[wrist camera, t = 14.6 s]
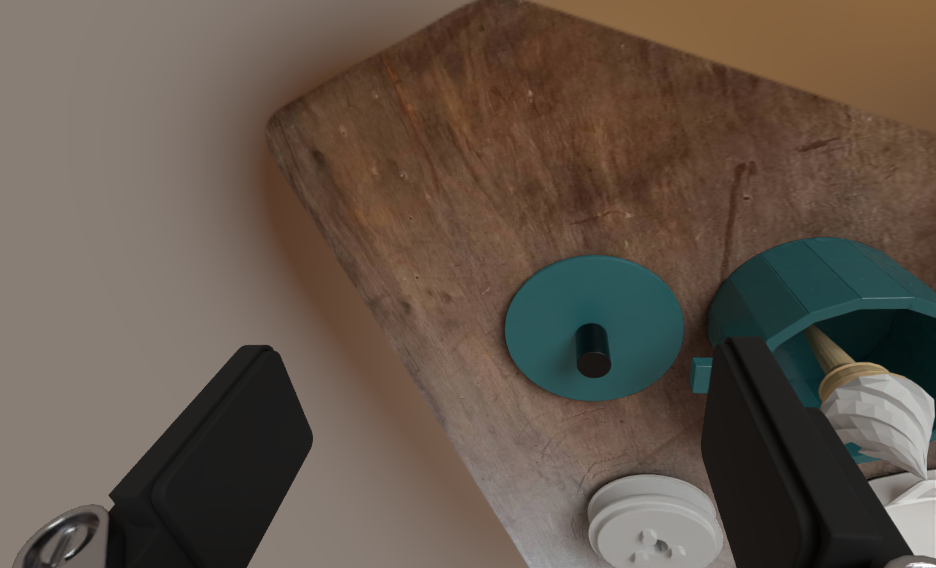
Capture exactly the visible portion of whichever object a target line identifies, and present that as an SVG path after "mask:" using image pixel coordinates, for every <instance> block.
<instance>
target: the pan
mask: <svg viewBox="0 0 936 568" xmlns="http://www.w3.org/2000/svg"><path fill="white" fill-rule="evenodd" d="M868 483H869V484H870V486H871V487H872V489H873V491H874V492H875V494H876V495H877V497H878V498H879V500H880V502H881V503H882V505H883V506H884V508H885V509H886V511H887V513H888V514H889V516H890V517H891V519H892V520H893V522H894V524H895V525H896V527H897V528H898V530H899V531H900V533H901V535H902V536H903V538H904V539H905V541H906V542H907V544H908V546H909V547H910V549H911V550H912V552H913V553H914V555H924V556H928V557H932V558H936V469H929V470H927V481H925V480H923V479H921V478H920V477H918V476H916V475H914V474H912V473H910V472H902V473H897V474H893V475H888V476H883V477H878V478H874V479H871V480H868Z"/></svg>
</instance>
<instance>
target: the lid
mask: <svg viewBox="0 0 936 568" xmlns="http://www.w3.org/2000/svg"><path fill="white" fill-rule="evenodd" d="M588 520H589V523H590V525H589V540H590V543H591V546H592V548H593V549H594V551H595V552H596V553H597V554H598V555H599V556H600V557H601V558H602V559H603V560H604V561H606V562H607V563H609V564H611V565H612V566H614V567H615V568H704V567H706V566H707V565H708V564H709V563H711V562H712V561H713V560H714V559H715V558H716V557H717V556H718V554H719V553H720V551H721V548H722V546H723V534H722V531H721V528H720V526H719V524H718V522H717V521H716V511H715V508H714V505H713V503H712V502H711V500H710V499H709V498H708V496H707V495H706V494H705V493H704V492H702V491H701V490H700V489H698V488H697V487H695V486H693V485H692V484H690V483H688V482H685V481H683V480H680V479H676V478H673V477H668V476H663V475H634V476H629V477H624V478H621V479H617V480H615V481H613V482H610V483H608V484H607V485H605V486H603V487H602V488H601V489H599V490H598V491H597V492H596V493H595V494H594V495H593V497H592V498H591V500H590V502H589V505H588Z"/></svg>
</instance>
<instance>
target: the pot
mask: <svg viewBox="0 0 936 568" xmlns="http://www.w3.org/2000/svg"><path fill="white" fill-rule="evenodd" d="M812 324H814V325H815V326H816V327H817V328H818V329H819V330H820V331H821V332H823V333H824V334H825V335H826V336H827V337H829V338H830V339H831V340H832V341H833V342H834V343H835V344H836V345H837V346H839V347H840V348H841V349H842V350H843V351H844V352H845V353H846V354H847V355H848V356H849V357H851V358H852V359H853V360H854V361H855V362H856V363H857V362H867V363H873V364H877V365H880V366H882V367H883V368H885V369H886V370H888V371H889V372H890V373H894V374H897V375H901V376H904V377H906V378H907V379H909V380H911V381H913V382H914V383H915V384H917V385H918V386H920V387H921V388H922V389H923V390H924V391H925V392H926V393H927V394H929V395H930V396H931V397H932V398H933V399H934V410H935V418H934V422H933V427H932V434H931V437H930V441H929V443H930V442H932V441H934V440H936V292H935V291H933V290H932V289H931V288H929V287H928V286H927V285H925V284H924V283H923V282H921V281H920V280H919V279H918V278H916V277H915V276H914V275H912V274H911V273H910V272H908V271H907V270H906V269H904V268H903V267H902V266H901V265H899V264H898V263H897V262H895V261H894V260H893V259H891V258H890V257H889V256H887V255H886V254H885V253H883V252H882V251H880V250H876V249H874V248H872V247H870V246H868V245H865V244H863V243H860V242H857V241H853V240H849V239H842V238H834V237H818V238H807V239H802V240H796V241H792V242H788V243H785V244H782V245H778V246H776V247H773V248H771V249H769V250H766V251H764V252H762V253H760V254H759V255H757V256H755V257H753V258H752V259H750V260H749V261H747V262H746V263H744V264H743V265H741V266H740V267H739V268H738V269H737V270H735V271H734V272H733V273H732V274H731V275H730V276H729V277H728V278H727V279H726V280H725V282H724V283H723V284H722V286H721V287H720V288H719V290H718V291H717V293H716V295H715V297H714V298H713V301H712V303H711V306H710V308H709V313H708V318H707V331H708V333H707V335H708V338H709V341H710V344H711V346H712V348H713V351H714V347H715V345H717V344H724V342H725V339H726V338H727V337H738V336H760V337H762V338H763V339H764V341H765V342H766V344H767V346H768V347H769V349H770V351H771V352H772V354H773V356H774V357H775V359H776V361H777V362H778V364H779V366H780V367H781V369H782V371H783V373H784V374H785V376H786V378H787V379H788V381H789V383H790V384H791V386H792V388H793V389H794V391H795V393H796V394H797V396H798V398H799V399H800V401H801V403H802V404H803V406H804V407H816V408H818V409H819V410H820V408H821V404H822V400H821V399H820V396H819V388H820V384H821V382H822V381H823V380H824V378H825V377H826V375H825V373H824V371H823V369H822V368H821V366H820V364H819V362H818V360H817V358H816V356H815V354H814V352H813V350H812V348H811V347H810V345H809V342H808V340H807V338H806V336H805V334H804V333H803V331H802V330H804V329H806V328H807V327H809V326H810V325H812ZM712 359H713V357H693V359H692V367H691V374H690V382H689V384H690V387H691V390H692V393H708V388H709V381H710V374H711V367H712ZM845 447H846V448H847V450H848V451H849V453H850V454H851V456H852V458H853V459H854V461H855V462H856V464H861V463H866V462H872V461H877V460H882V459H881V458H873V457H870V456H867V455H864V454H862V453H859V452H858V451H859V450H861V449H862V447H860V446H858V445H857V444H855V443H853V442H849V443H847V444H845Z"/></svg>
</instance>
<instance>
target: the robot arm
mask: <svg viewBox="0 0 936 568" xmlns="http://www.w3.org/2000/svg"><path fill="white" fill-rule="evenodd" d="M312 442H313V435H312V431H311V429H310V426H309V424H308V422H307V419H306V417H305V415H304V412H303V409H302V407H301V405H300V402H299V400H298V397H297V395H296V392H295V390H294V388H293V385H292V383H291V381H290V378H289V376H288V373H287V371H286V368H285V366H284V363H283V361H282V359H281V356H280V354H279V353H278V352H276V351H274V350H273V348H272V347H271V346H269V345H245V346H242V347H241V348H239V349H238V351H237V352H236V353H235V354H234V355H233V356H232V357H231V358H230V359H229V361H228V362H227V363H226V364H225V365H224V366H223V367H222V368H221V370H220V371H219V372H218V373H217V374H216V375H215V376H214V377H213V378H212V380H211V381H210V382H209V383H208V384H207V385H206V386H205V387H204V389H203V390H202V391H201V392H200V393H199V394H198V395H197V397H196V398H195V399H194V400H193V401H192V402H191V403H190V404H189V405H188V406H187V408H186V409H185V410H184V411H183V412H182V413H181V415H179V417H178V418H177V419H176V420H175V421H174V422H173V423H172V424H171V426H170V427H169V428H168V429H167V430H166V431H165V432H164V433H163V435H162V436H161V437H160V438H159V439H158V440H157V441H156V443H154V445H153V446H152V447H151V448H150V449H149V450H148V451H147V453H146V454H145V455H144V456H143V457H142V458H141V459H140V460H139V461H138V463H137V464H136V465H135V466H134V467H133V468H132V469H131V470H130V472H129V473H128V474H127V475H126V476H125V477H124V478H123V479H122V481H121V482H120V483H119V484H118V485H117V486H116V487H115V488H114V489H113V491H112V492H111V493H110V494H109V497H110V498H111V499H112V500H113V502H114V503H115V505H114V506H113V507H112V509H111V510H110V511H109V512H108V511H107V510H106V509H105V508H104V507H103V506H100V505H94V504H91V505H85V506H80V507H78V508H75V509H72V510H69V511H67V512H65V513H63V514H61V515H60V516H58V517H56V518H54V519H53V520H51V521H50V522H48V523H47V524H46V525H44V526H43V527H42V528H40V529H39V530H38V531H37V532H36V533H35V534H34V535H33V536H32V537H31V538H30V539H29V540H28V541H27V542H26V543H25V544H24V546H23V547H22V548H21V550H20V551H19V552H18V554H17V556H16V559H15V561H14V563H13V566H12V568H247V566H248V564H249V562H250V560H251V559H252V557H253V555H254V553H255V551H256V549H257V547H258V546H259V544H260V542H261V540H262V538H263V536H264V534H265V533H266V530H267V529H268V527H269V525H270V523H271V521H272V519H273V518H274V516H275V514H276V512H277V510H278V508H279V506H280V505H281V503H282V501H283V499H284V497H285V496H286V494H287V492H288V490H289V488H290V486H291V484H292V482H293V481H294V479H295V477H296V475H297V473H298V471H299V469H300V468H301V466H302V464H303V462H304V460H305V458H306V457H307V455H308V453H309V451H310V449H311V447H312ZM701 451H702V458H703V462H704V465H705V468H706V471H707V474H708V478H709V481H710V484H711V487H712V490H713V494H714V497H715V500H716V503H717V506H718V509H719V513H720V516H721V519H722V522H723V525H724V529H725V532H726V535H727V538H728V541H729V545H730V548H731V551H732V554H733V557H734V561H735V564H736V567H737V568H936V558H932V557H928V556H924V555H914V553H913V552H912V550H911V549H910V547H909V546H908V544H907V542H906V541H905V539H904V538H903V536H902V535H901V533H900V531H899V530H898V528H897V527H896V525H895V524H894V522H893V520H892V519H891V517H890V516H889V514H888V513H887V511H886V509H885V508H884V506H883V505H882V503H881V502H880V500H879V498H878V497H877V495H876V494H875V492H874V491H873V489H872V487H871V486H870V484H869V483H868V481H867V480H866V478H865V476H864V475H863V473H862V472H861V470H860V469H859V467H858V465H857V464H856V462H855V461H854V459H853V458H852V456H851V454H850V453H849V451H848V450H847V448H846V447H845V445H844V444H843V442H842V440H841V439H840V437H839V436H838V434H837V433H836V431H835V429H834V428H833V426H832V425H831V423H830V422H829V420H828V418H827V417H826V416H825V415H824V413H823V412H822V411H821V410H819V409H818V408H816V407H804V406H803V404H802V403H801V401H800V399H799V398H798V396H797V394H796V393H795V391H794V389H793V388H792V386H791V384H790V383H789V381H788V379H787V378H786V376H785V374H784V373H783V371H782V369H781V367H780V366H779V364H778V362H777V361H776V359H775V357H774V356H773V354H772V352H771V351H770V349H769V347H768V346H767V344H766V342H765V341H764V339H763V338H762V337H760V336H738V337H727V338H726V339H725V342H724V344H717V345H715V347H714V352H713V359H712V367H711V374H710V381H709V388H708V396H707V403H706V410H705V417H704V425H703V432H702V439H701Z"/></svg>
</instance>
